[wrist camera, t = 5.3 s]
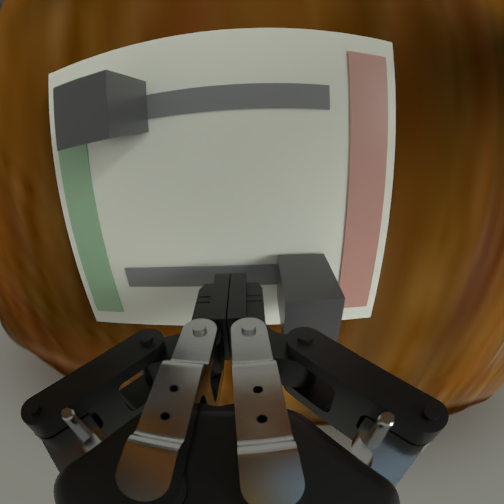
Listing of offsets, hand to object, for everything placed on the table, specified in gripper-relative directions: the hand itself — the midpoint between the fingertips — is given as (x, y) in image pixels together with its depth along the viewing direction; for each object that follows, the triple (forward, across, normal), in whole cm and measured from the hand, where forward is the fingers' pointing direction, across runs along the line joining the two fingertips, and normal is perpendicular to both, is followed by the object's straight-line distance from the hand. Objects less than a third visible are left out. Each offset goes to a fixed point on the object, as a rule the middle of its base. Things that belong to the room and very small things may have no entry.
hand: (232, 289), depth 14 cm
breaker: (+1, +5, -9) cm, 10 cm away
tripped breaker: (+1, -3, 0) cm, 4 cm away
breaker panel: (+4, +1, -4) cm, 6 cm away
